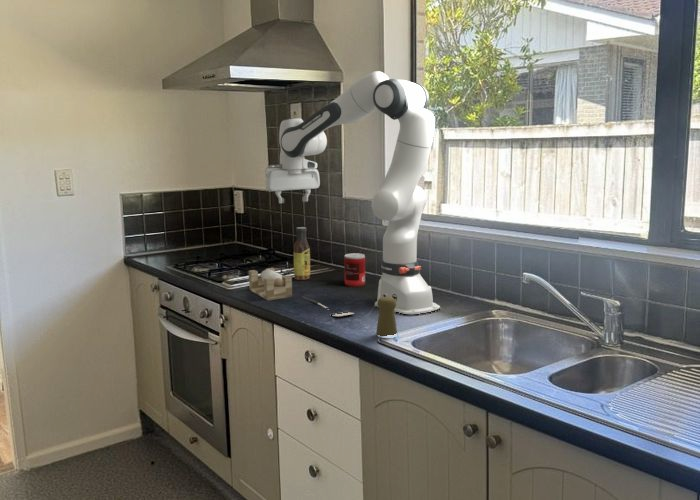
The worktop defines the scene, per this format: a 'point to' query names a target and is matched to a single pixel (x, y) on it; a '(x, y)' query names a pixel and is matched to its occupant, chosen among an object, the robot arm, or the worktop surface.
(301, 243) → the sauce bottle
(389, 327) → the olive green tall figure
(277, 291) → the holder
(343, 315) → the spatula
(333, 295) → the worktop surface
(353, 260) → the canned food
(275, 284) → the roll
